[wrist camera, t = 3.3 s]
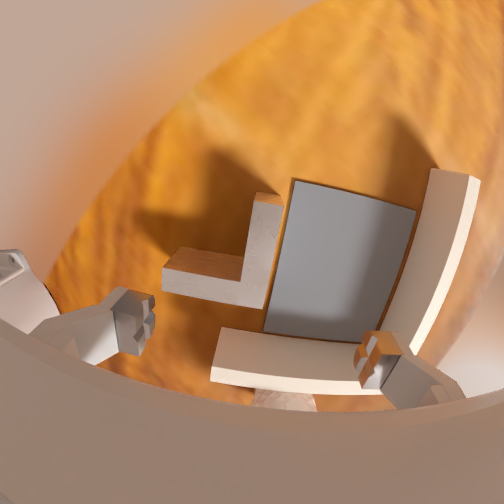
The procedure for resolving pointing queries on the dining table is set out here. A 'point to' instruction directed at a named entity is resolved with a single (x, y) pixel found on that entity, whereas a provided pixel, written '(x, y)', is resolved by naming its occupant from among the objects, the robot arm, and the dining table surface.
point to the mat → (336, 263)
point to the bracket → (230, 262)
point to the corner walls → (397, 318)
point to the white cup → (283, 400)
